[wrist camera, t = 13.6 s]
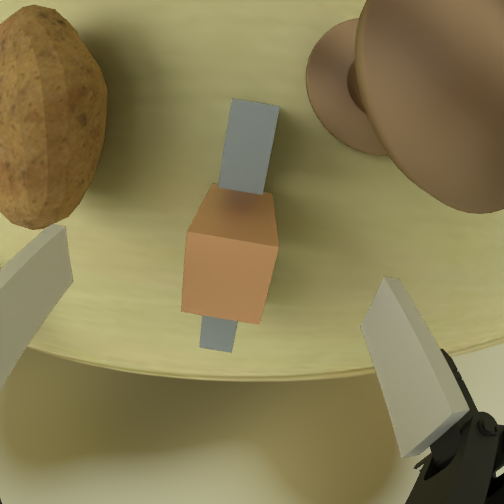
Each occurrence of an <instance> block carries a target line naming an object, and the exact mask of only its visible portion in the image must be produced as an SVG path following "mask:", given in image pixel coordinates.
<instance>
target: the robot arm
mask: <svg viewBox="0 0 504 504" xmlns="http://www.w3.org/2000/svg"><path fill="white" fill-rule="evenodd" d="M72 283H73V275H72V270H71V263H70V257H69V250H68V242H67V234H66V226H61V225H55V224H51V225H50V226H49V227H47V228H46V229H45V230H44V231H43V232H41V233H40V234H39V235H38V236H37V237H36V238H34V239H33V240H32V241H31V242H30V243H29V244H28V245H26V246H25V247H24V248H23V249H22V250H21V251H20V252H19V253H18V254H16V255H15V256H14V257H13V258H12V259H11V260H10V261H9V262H8V263H7V264H6V265H5V266H4V267H3V268H2V269H1V270H0V390H1V388H2V386H3V385H4V383H5V381H6V379H7V378H8V376H9V374H10V373H11V371H12V369H13V368H14V366H15V364H16V363H17V361H18V360H19V358H20V356H21V355H22V353H23V352H24V350H25V348H26V347H27V345H28V344H29V342H30V341H31V339H32V338H33V336H34V335H35V333H36V332H37V331H38V329H39V328H40V326H41V325H42V323H43V322H44V320H45V319H46V318H47V316H48V315H49V313H50V312H51V311H52V309H53V308H54V306H55V305H56V304H57V302H58V301H59V300H60V298H61V297H62V296H63V294H64V293H65V292H66V290H67V289H68V288H69V287H70V285H71V284H72ZM360 327H361V330H362V333H363V336H364V339H365V341H366V344H367V347H368V350H369V353H370V356H371V359H372V361H373V364H374V367H375V370H376V373H377V376H378V379H379V383H380V386H381V389H382V392H383V395H384V398H385V401H386V405H387V408H388V411H389V415H390V418H391V422H392V425H393V428H394V432H395V436H396V439H397V443H398V446H399V450H400V454H401V458H405V457H410V456H415V455H419V454H421V453H422V452H423V451H424V450H426V449H427V448H428V447H429V446H430V449H431V452H432V453H430V454H429V455H428V456H426V457H425V458H424V459H423V460H421V461H420V462H419V463H417V464H416V465H415V467H414V469H417V468H418V467H420V466H421V465H422V464H424V465H423V467H422V469H421V470H420V474H419V476H418V478H417V481H416V483H415V485H414V487H413V489H412V491H411V493H410V495H409V497H408V499H407V501H406V503H405V504H504V473H503V474H502V475H500V476H499V477H496V471H497V470H499V469H500V468H501V467H503V466H504V425H497V423H496V421H495V419H494V418H493V417H492V416H491V415H490V414H488V413H485V412H478V410H477V408H476V406H475V404H474V402H473V400H472V397H471V395H470V393H469V391H468V389H467V387H466V385H465V383H464V381H463V380H462V377H461V375H460V373H459V372H457V368H456V366H455V364H454V362H453V360H452V358H451V357H450V356H449V355H448V354H447V353H446V352H445V351H444V350H443V349H440V348H439V346H438V344H437V343H436V341H435V339H434V337H433V335H432V334H431V332H430V330H429V328H428V326H427V325H426V323H425V321H424V320H423V318H422V316H421V314H420V313H419V311H418V309H417V308H416V306H415V304H414V303H413V301H412V299H411V298H410V296H409V294H408V293H407V291H406V290H405V288H404V286H403V285H402V283H401V282H400V280H399V279H395V278H388V277H384V278H383V280H382V282H381V285H380V287H379V289H378V291H377V293H376V295H375V298H374V300H373V302H372V304H371V306H370V308H369V310H368V312H367V314H366V316H365V318H364V320H363V322H362V324H361V326H360ZM0 504H2V502H1V499H0Z"/></svg>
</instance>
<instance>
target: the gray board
mask: <svg viewBox="0 0 504 504" xmlns="http://www.w3.org/2000/svg"><path fill="white" fill-rule="evenodd" d="M279 109H280V107H279V106H274V105H269V104H263V103H258V102H252V101H245V100H239V99H232V102H231V108H230V114H229V120H228V126H227V132H226V138H225V144H224V151H223V157H222V164H221V170H220V177H219V184H218V188H224V189H230V190H236V191H242V192H248V193H254V194H260V195H263V190H264V185H265V180H266V175H267V170H268V165H269V160H270V155H271V150H272V145H273V140H274V135H275V129H276V124H277V119H278V114H279ZM237 323H238V321H233V320H227V319H221V318H215V317H209V316H204V315H202V325H201V336H200V348H206V349H212V350H218V351H224V352H231V353H232V348H233V343H234V338H235V333H236V328H237Z"/></svg>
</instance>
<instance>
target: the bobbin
mask: <svg viewBox="0 0 504 504" xmlns="http://www.w3.org/2000/svg"><path fill="white" fill-rule="evenodd" d="M306 87H307V93H308V97H309V100H310V103H311V105H312V108H313V110H314V112H315V113H316V115H317V117H318V119H319V120H320V121H321V123H322V124H323V125H324V127H325V128H326V129H327V130H328V131H329V132H330V133H331V134H333V135H334V136H335V137H336V138H337V139H339V140H340V141H342V142H343V143H345V144H347V145H349V146H351V147H353V148H355V149H357V150H359V151H362V152H365V153H369V154H374V155H388V156H389V157H390V158H391V159H392V161H393V162H394V163H395V165H396V166H397V167H398V168H399V169H400V170H401V171H402V172H403V173H404V175H405V176H406V177H407V178H408V179H410V180H411V181H412V182H413V183H415V184H416V185H417V186H418V187H419V188H421V189H422V190H424V191H425V192H427V193H428V194H430V195H431V196H433V197H434V198H436V199H437V200H439V201H441V202H442V203H444V204H445V205H447V206H450V207H452V208H454V209H456V210H460V211H464V212H467V213H477V214H483V213H492V212H495V211H499V210H502V209H504V0H367V1H366V3H365V5H364V7H363V10H362V12H361V14H360V17H359V18H357V19H352V20H348V21H345V22H343V23H340V24H338V25H337V26H335V27H333V28H332V29H330V30H329V31H328V32H327V33H326V34H325V35H324V36H323V37H322V38H321V39H320V40H319V41H318V42H317V44H316V45H315V47H314V48H313V50H312V52H311V55H310V57H309V60H308V64H307V69H306Z"/></svg>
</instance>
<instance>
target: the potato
mask: <svg viewBox="0 0 504 504" xmlns="http://www.w3.org/2000/svg"><path fill="white" fill-rule="evenodd" d="M107 94H108V89H107V86H106V83H105V80H104V77H103V74H102V71H101V68H100V66H99V65H98V64H97V62H96V61H95V59H94V58H93V56H92V55H91V53H90V52H89V50H88V49H87V47H86V46H85V44H84V42H83V41H82V39H81V38H80V36H79V34H78V33H77V31H76V30H75V29H74V28H73V27H72V25H71V24H70V23H69V22H68V21H67V20H66V19H64V18H63V17H62V16H61V15H60V14H59V13H58V12H57V11H56V10H55V9H50V8H46V7H41V6H36V5H31V6H26V7H22V8H21V9H20V10H18V11H17V12H15V13H14V14H13V15H11V16H10V17H9V18H7V19H6V20H5V21H3V22H2V23H1V24H0V212H1V213H2V214H3V215H4V216H5V217H6V218H7V219H8V220H9V221H10V222H11V223H13V224H16V225H19V226H22V227H25V228H28V229H32V230H35V229H43V228H46V227H48V226H50V225H51V224H54V223H56V222H58V221H60V220H62V219H64V218H66V217H68V216H69V215H70V214H71V213H72V212H73V211H74V209H75V208H76V207H77V206H78V205H79V204H80V202H81V200H82V198H83V196H84V194H85V192H86V190H87V188H88V186H89V184H90V182H91V180H92V179H93V176H94V173H95V170H96V167H97V164H98V161H99V157H100V154H101V150H102V147H103V143H104V140H105V128H106V118H107Z"/></svg>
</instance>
